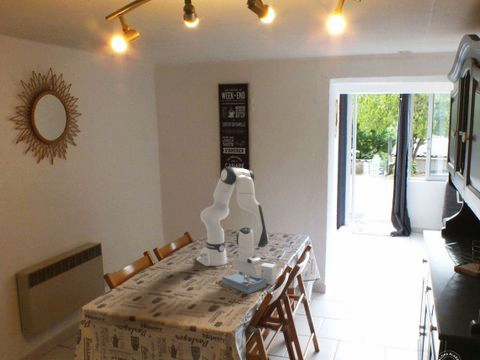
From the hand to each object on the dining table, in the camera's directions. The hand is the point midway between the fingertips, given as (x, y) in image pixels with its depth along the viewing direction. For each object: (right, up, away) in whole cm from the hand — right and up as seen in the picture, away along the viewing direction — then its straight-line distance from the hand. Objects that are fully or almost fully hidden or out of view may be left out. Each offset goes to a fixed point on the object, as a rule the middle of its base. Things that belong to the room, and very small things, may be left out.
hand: (246, 280), depth 241 cm
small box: (+13, -3, +6) cm, 14 cm away
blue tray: (-2, -3, +2) cm, 4 cm away
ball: (+2, -2, -2) cm, 3 cm away
